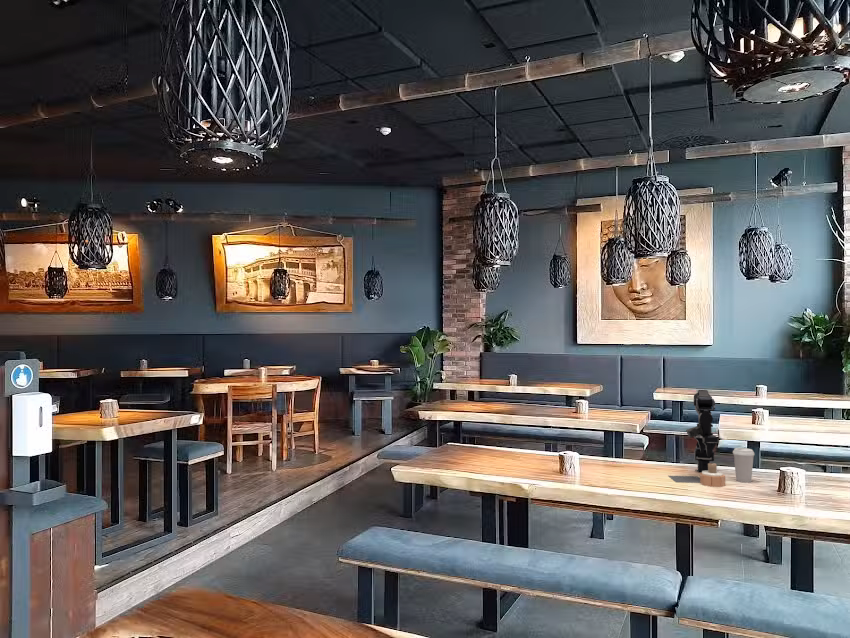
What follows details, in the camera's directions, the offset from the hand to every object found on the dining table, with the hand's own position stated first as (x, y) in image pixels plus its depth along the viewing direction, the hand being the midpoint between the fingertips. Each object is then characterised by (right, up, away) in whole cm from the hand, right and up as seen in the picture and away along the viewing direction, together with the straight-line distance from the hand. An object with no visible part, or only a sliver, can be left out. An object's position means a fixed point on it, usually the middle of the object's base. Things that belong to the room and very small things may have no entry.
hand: (705, 454), depth 313 cm
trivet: (-10, -12, -3) cm, 16 cm away
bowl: (-2, -12, -13) cm, 18 cm away
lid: (-2, -7, -13) cm, 15 cm away
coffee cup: (+17, -12, -4) cm, 21 cm away
